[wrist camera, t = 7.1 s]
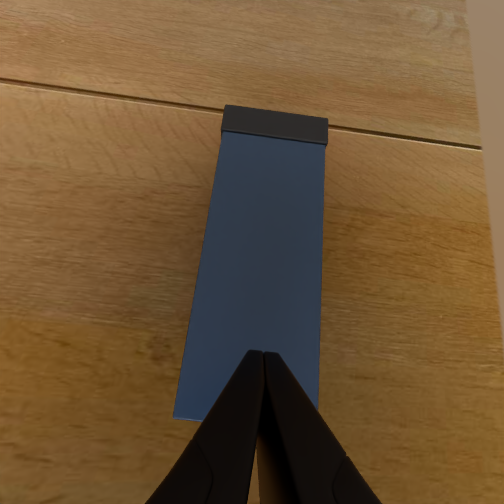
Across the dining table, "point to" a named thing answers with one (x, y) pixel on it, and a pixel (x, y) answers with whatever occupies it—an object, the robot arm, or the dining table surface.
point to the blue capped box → (258, 256)
